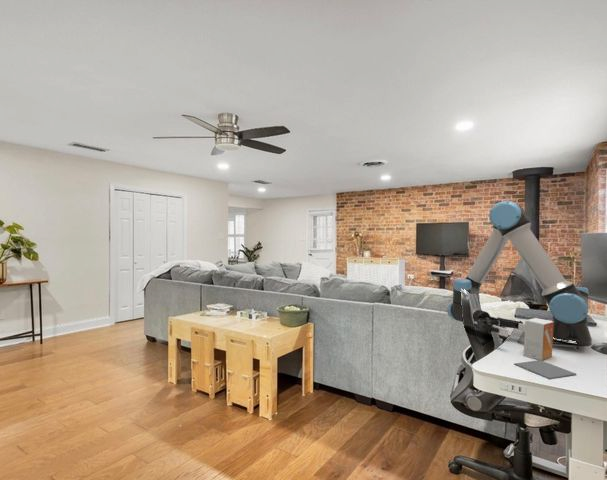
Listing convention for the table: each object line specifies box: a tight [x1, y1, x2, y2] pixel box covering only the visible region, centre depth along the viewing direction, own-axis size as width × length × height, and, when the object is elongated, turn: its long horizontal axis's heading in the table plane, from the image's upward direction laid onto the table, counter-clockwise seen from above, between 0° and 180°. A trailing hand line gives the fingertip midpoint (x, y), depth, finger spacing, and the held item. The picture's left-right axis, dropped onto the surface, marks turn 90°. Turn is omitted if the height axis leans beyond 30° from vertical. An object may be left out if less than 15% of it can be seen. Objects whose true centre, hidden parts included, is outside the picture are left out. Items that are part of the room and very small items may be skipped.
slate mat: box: [514, 359, 577, 380], centre depth 115 cm, size 12×12×1 cm
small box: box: [522, 317, 554, 361], centre depth 127 cm, size 8×6×13 cm
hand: (521, 332), depth 133 cm, fingers open, 13 cm apart
